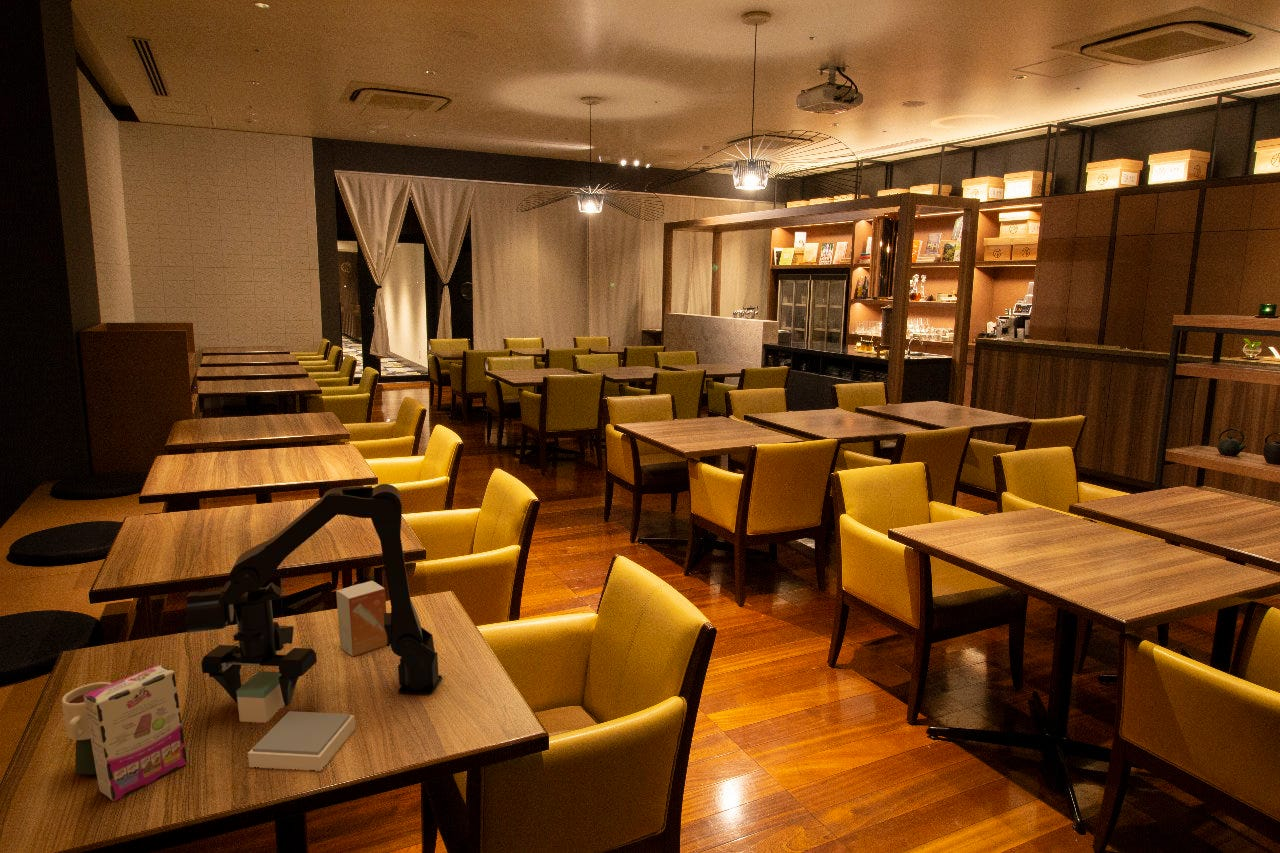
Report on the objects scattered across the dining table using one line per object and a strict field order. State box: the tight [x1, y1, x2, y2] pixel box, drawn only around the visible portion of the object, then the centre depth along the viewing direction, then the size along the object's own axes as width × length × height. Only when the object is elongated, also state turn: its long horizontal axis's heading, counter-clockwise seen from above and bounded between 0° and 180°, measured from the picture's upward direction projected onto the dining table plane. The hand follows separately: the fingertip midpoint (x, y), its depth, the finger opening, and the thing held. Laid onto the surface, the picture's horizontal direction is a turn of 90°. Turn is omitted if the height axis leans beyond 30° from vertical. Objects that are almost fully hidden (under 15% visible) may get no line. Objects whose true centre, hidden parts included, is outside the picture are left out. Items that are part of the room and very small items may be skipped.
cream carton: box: [237, 670, 285, 724], centre depth 140 cm, size 5×7×6 cm
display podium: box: [247, 710, 356, 772], centre depth 129 cm, size 12×12×3 cm
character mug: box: [61, 681, 113, 776], centre depth 123 cm, size 11×7×13 cm, turn 8°
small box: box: [335, 580, 388, 658], centre depth 164 cm, size 8×6×13 cm
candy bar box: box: [83, 664, 188, 802], centre depth 120 cm, size 11×5×16 cm, turn 148°
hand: (263, 704), depth 140 cm, fingers open, 9 cm apart
